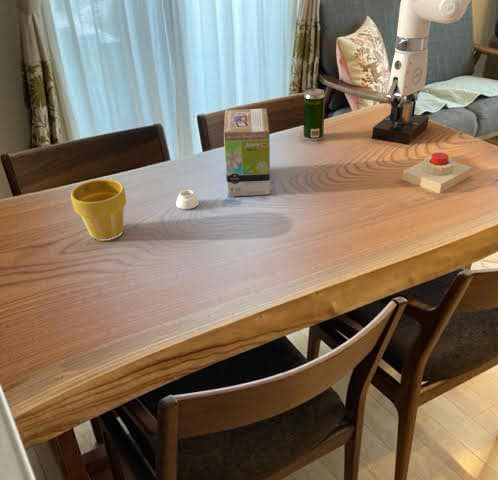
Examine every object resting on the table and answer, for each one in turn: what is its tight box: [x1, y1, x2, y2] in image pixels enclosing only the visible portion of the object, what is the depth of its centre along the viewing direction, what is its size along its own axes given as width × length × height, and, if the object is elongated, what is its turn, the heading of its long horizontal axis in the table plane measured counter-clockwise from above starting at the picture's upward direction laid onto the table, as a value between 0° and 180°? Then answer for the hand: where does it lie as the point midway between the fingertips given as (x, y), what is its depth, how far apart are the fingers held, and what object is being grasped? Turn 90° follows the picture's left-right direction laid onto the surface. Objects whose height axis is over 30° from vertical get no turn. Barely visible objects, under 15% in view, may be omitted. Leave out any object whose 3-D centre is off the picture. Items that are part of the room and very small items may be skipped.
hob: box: [371, 113, 430, 146], centre depth 145 cm, size 14×10×3 cm
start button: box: [431, 152, 450, 166], centre depth 121 cm, size 4×4×2 cm
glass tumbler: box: [392, 98, 414, 125], centre depth 142 cm, size 5×5×6 cm
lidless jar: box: [175, 189, 200, 210], centre depth 118 cm, size 5×3×5 cm
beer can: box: [302, 88, 326, 142], centre depth 142 cm, size 5×5×12 cm
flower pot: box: [70, 178, 127, 242], centre depth 108 cm, size 10×10×10 cm
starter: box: [401, 155, 473, 194], centre depth 122 cm, size 12×10×4 cm
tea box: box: [223, 108, 271, 197], centre depth 122 cm, size 15×10×15 cm, turn 1°
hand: (401, 118), depth 143 cm, fingers closed on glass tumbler, 4 cm apart
